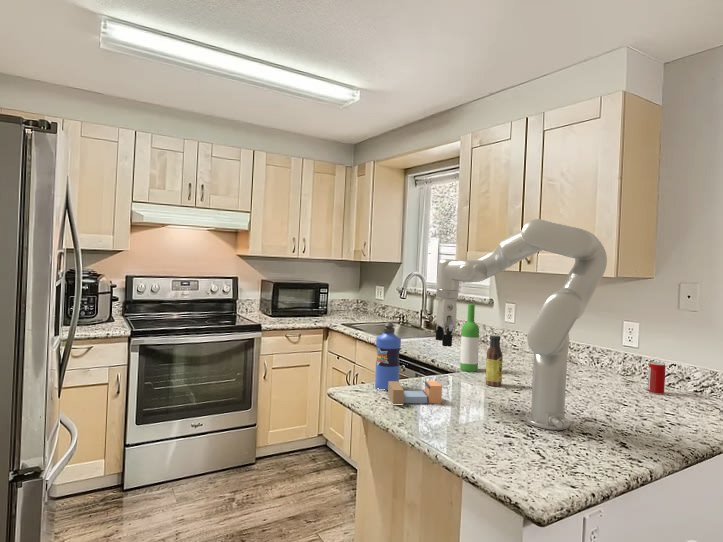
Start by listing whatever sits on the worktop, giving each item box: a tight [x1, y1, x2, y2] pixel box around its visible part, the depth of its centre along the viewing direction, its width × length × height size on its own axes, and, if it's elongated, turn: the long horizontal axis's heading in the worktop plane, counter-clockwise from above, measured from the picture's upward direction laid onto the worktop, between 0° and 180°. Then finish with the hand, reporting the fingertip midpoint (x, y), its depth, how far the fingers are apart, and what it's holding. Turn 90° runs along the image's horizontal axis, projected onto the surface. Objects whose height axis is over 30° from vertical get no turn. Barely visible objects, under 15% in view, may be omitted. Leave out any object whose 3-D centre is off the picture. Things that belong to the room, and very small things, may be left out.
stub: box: [424, 380, 443, 404], centre depth 159 cm, size 6×4×6 cm
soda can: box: [647, 361, 666, 396], centre depth 179 cm, size 6×6×12 cm
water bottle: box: [374, 321, 402, 390], centre depth 174 cm, size 9×9×25 cm
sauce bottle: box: [485, 334, 504, 387], centre depth 183 cm, size 6×6×20 cm
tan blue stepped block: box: [387, 381, 429, 405], centre depth 158 cm, size 11×12×5 cm
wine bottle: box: [459, 303, 480, 373], centre depth 207 cm, size 8×8×30 cm
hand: (443, 343), depth 160 cm, fingers open, 9 cm apart
